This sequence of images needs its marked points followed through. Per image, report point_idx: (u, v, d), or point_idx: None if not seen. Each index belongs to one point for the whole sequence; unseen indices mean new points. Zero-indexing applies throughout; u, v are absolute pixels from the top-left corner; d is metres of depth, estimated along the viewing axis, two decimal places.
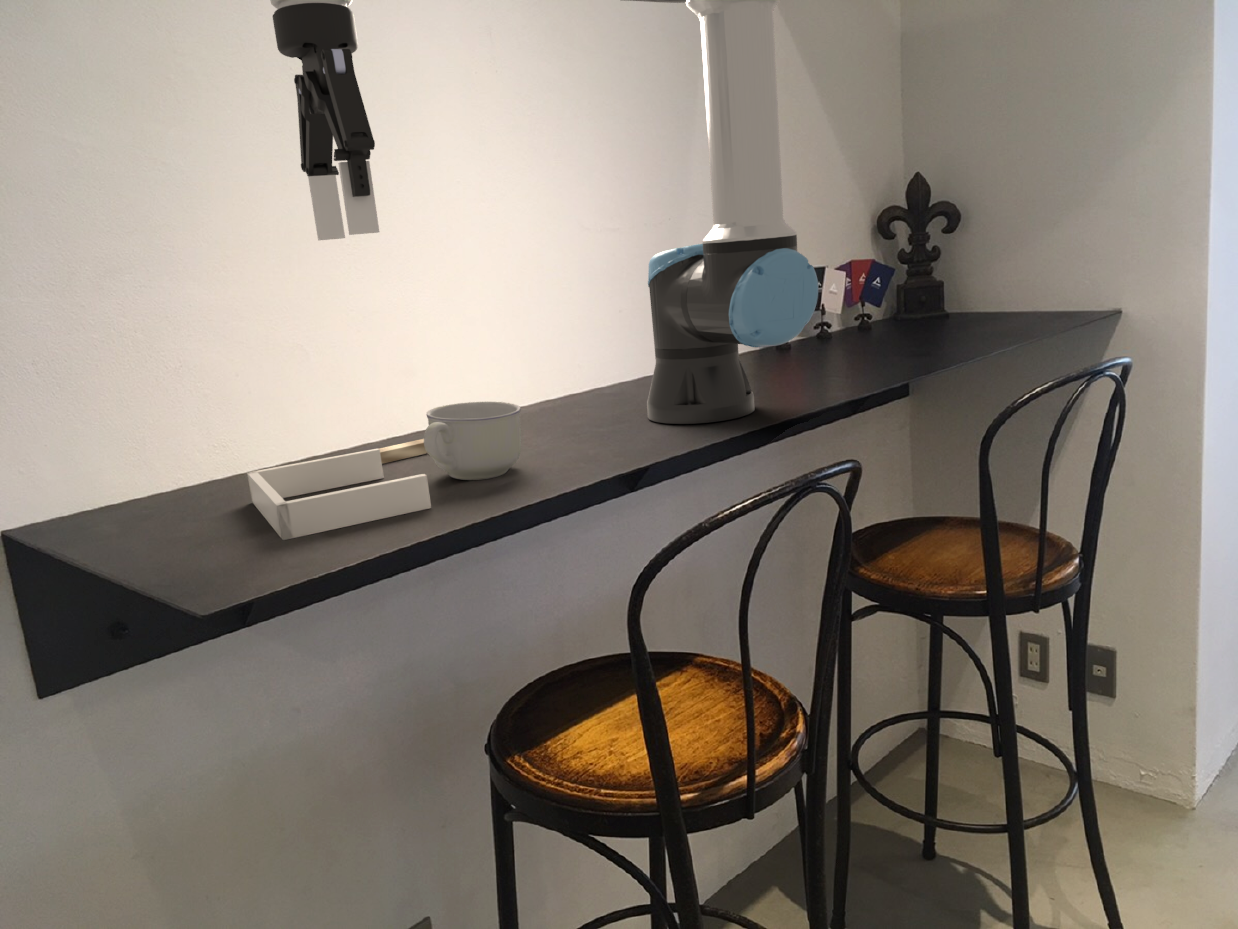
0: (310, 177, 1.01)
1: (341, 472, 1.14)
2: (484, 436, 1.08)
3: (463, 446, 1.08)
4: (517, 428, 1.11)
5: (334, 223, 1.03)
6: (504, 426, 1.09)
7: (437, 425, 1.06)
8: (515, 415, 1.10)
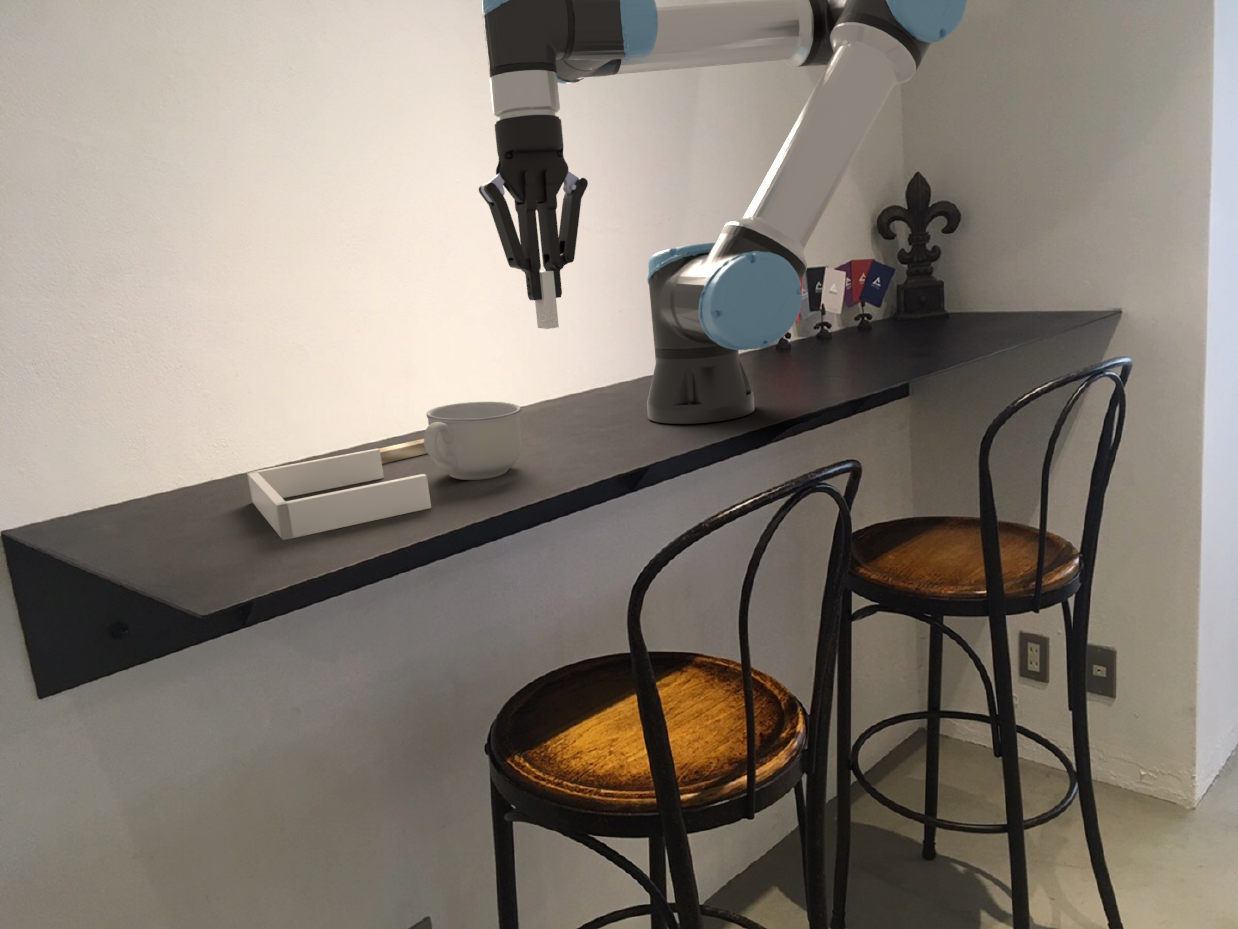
0: None
1: (341, 472, 1.14)
2: (484, 436, 1.08)
3: (463, 446, 1.08)
4: (517, 428, 1.11)
5: None
6: (504, 426, 1.09)
7: (437, 425, 1.06)
8: (515, 415, 1.10)
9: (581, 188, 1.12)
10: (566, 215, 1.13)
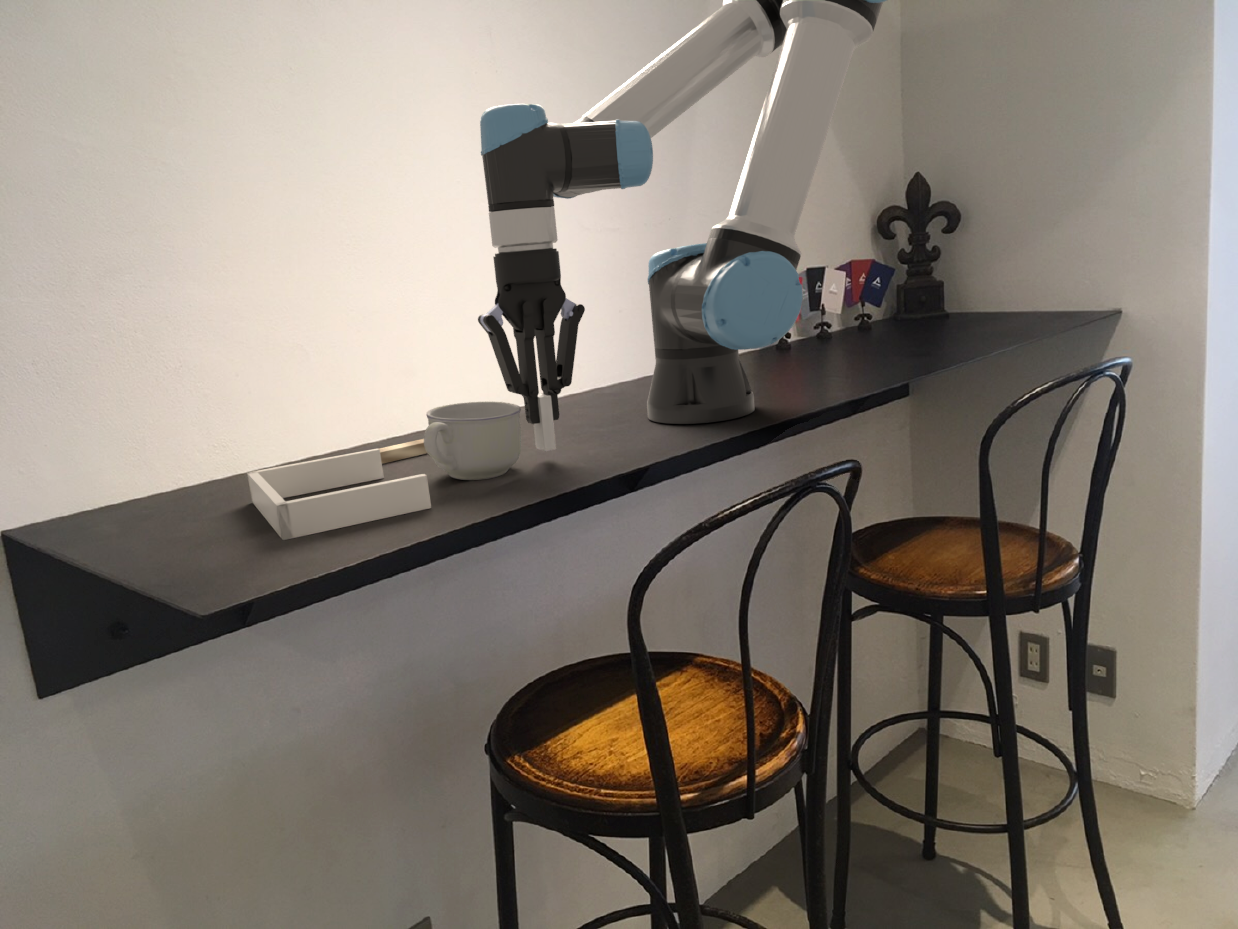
0: None
1: (341, 472, 1.14)
2: (484, 436, 1.08)
3: (463, 446, 1.08)
4: (517, 428, 1.11)
5: None
6: (504, 426, 1.09)
7: (437, 425, 1.06)
8: (515, 415, 1.10)
9: (578, 314, 1.15)
10: (563, 340, 1.15)
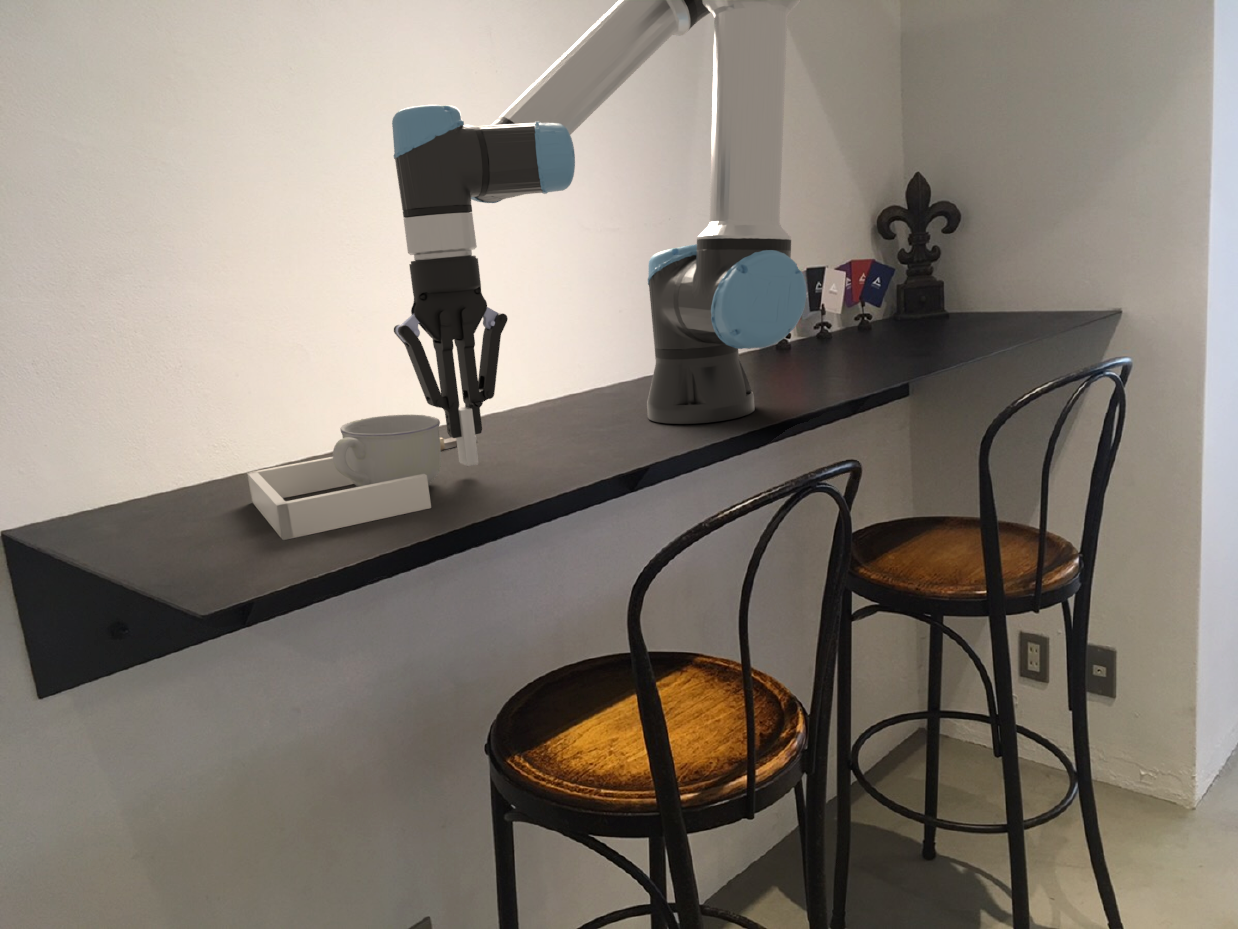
0: None
1: None
2: (398, 452, 1.03)
3: (376, 462, 1.03)
4: (435, 443, 1.07)
5: None
6: (420, 441, 1.04)
7: (346, 441, 1.01)
8: (431, 430, 1.06)
9: (500, 324, 1.10)
10: (485, 351, 1.11)
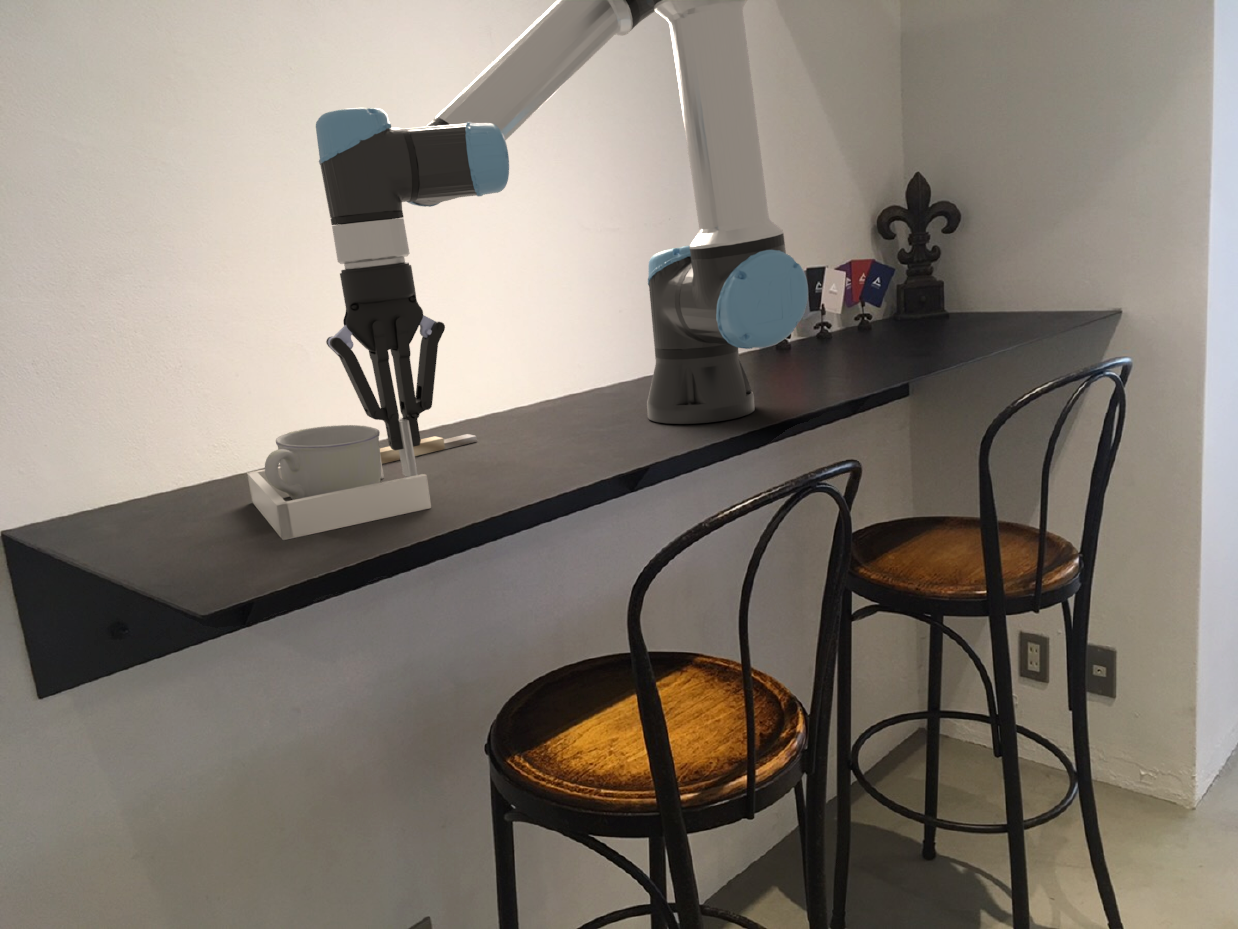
0: None
1: None
2: (333, 464, 1.00)
3: (310, 475, 1.00)
4: (373, 455, 1.04)
5: None
6: (356, 453, 1.01)
7: (279, 453, 0.98)
8: (369, 441, 1.03)
9: (437, 333, 1.07)
10: (422, 360, 1.08)
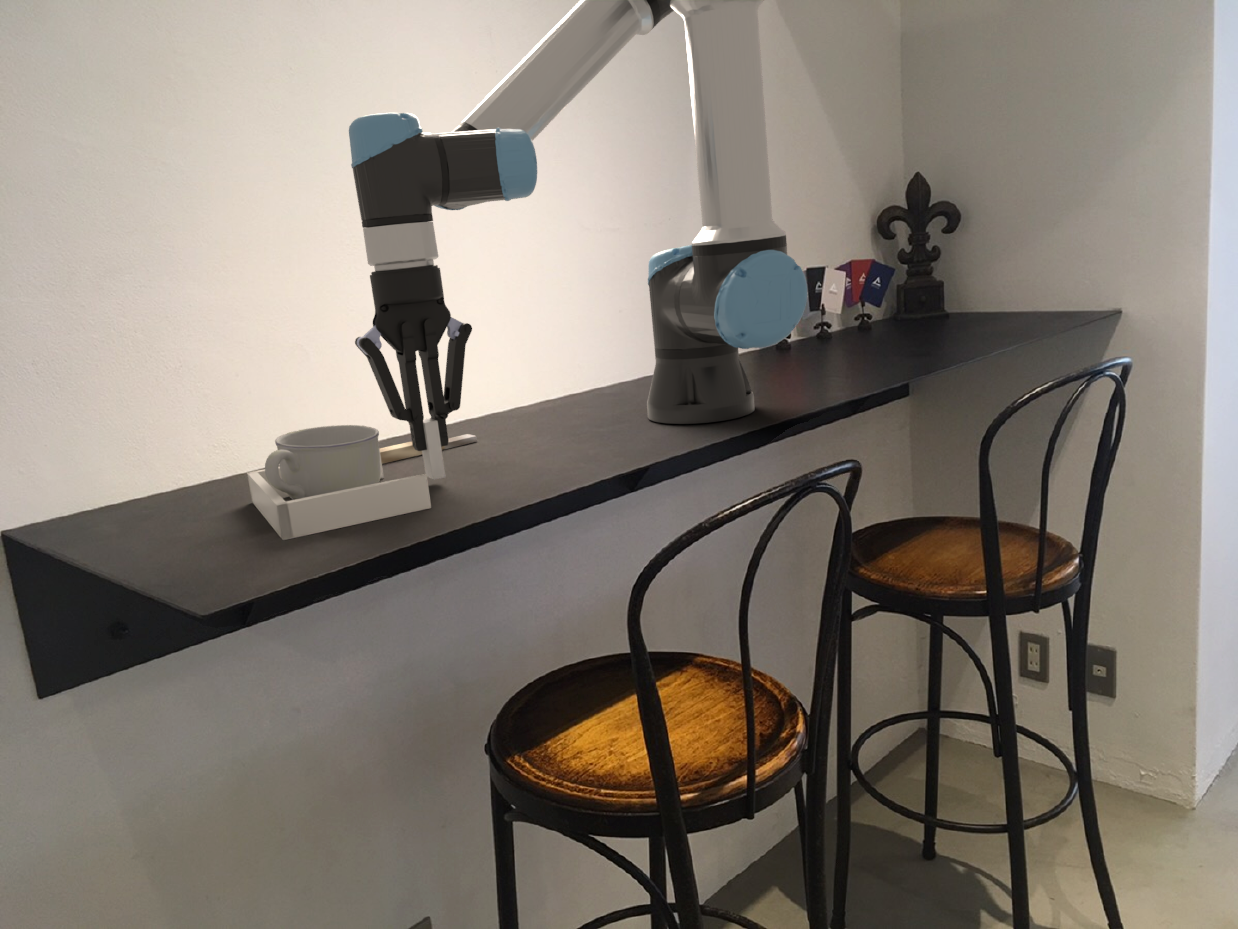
0: (424, 420, 1.10)
1: None
2: (333, 464, 1.00)
3: (310, 475, 1.00)
4: (373, 455, 1.04)
5: None
6: (356, 453, 1.02)
7: (279, 453, 0.98)
8: (369, 441, 1.03)
9: (465, 334, 1.08)
10: (450, 361, 1.09)
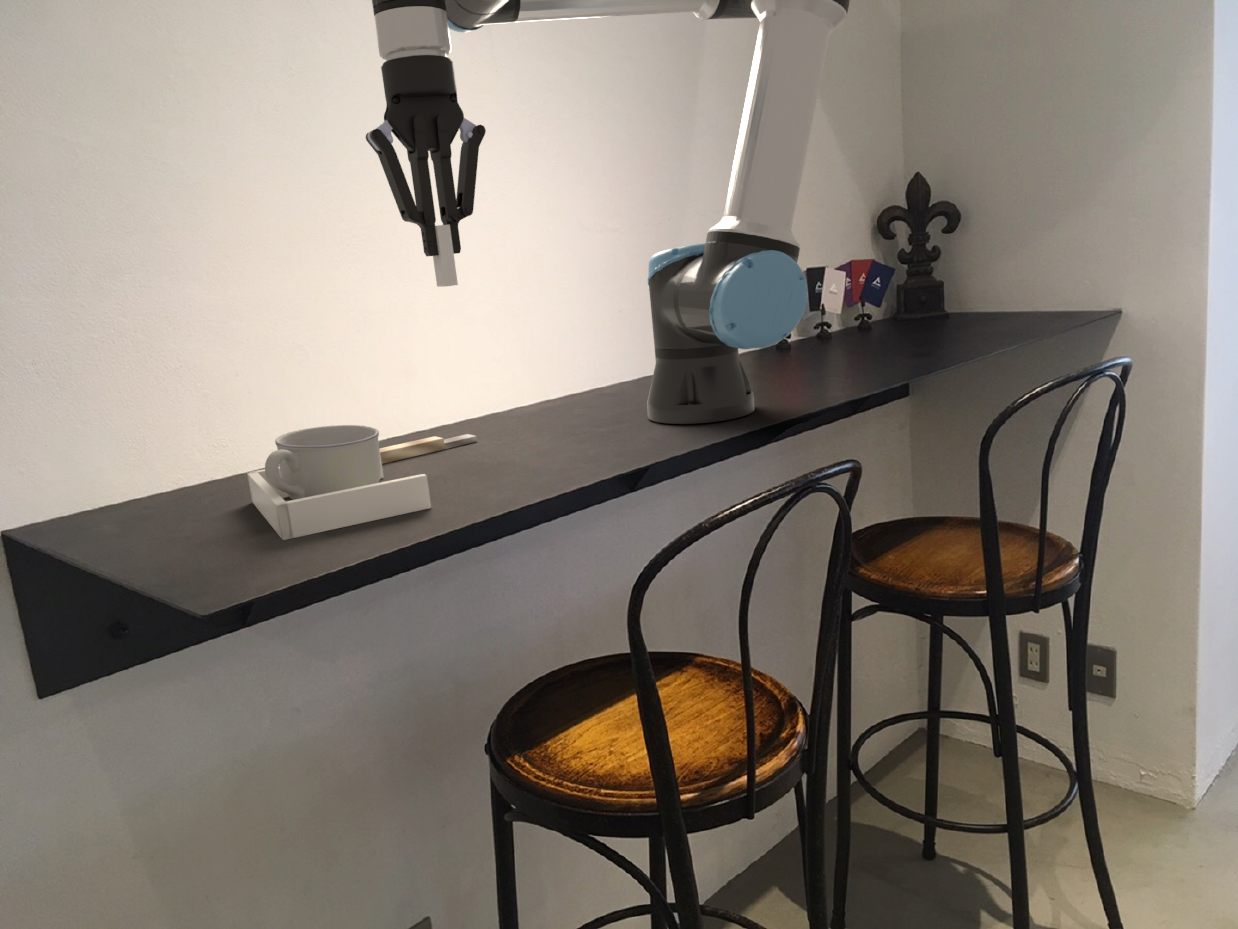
0: None
1: None
2: (333, 464, 1.00)
3: (310, 475, 1.00)
4: (373, 455, 1.04)
5: None
6: (356, 453, 1.02)
7: (279, 453, 0.98)
8: (369, 441, 1.03)
9: (478, 136, 1.05)
10: (463, 165, 1.06)
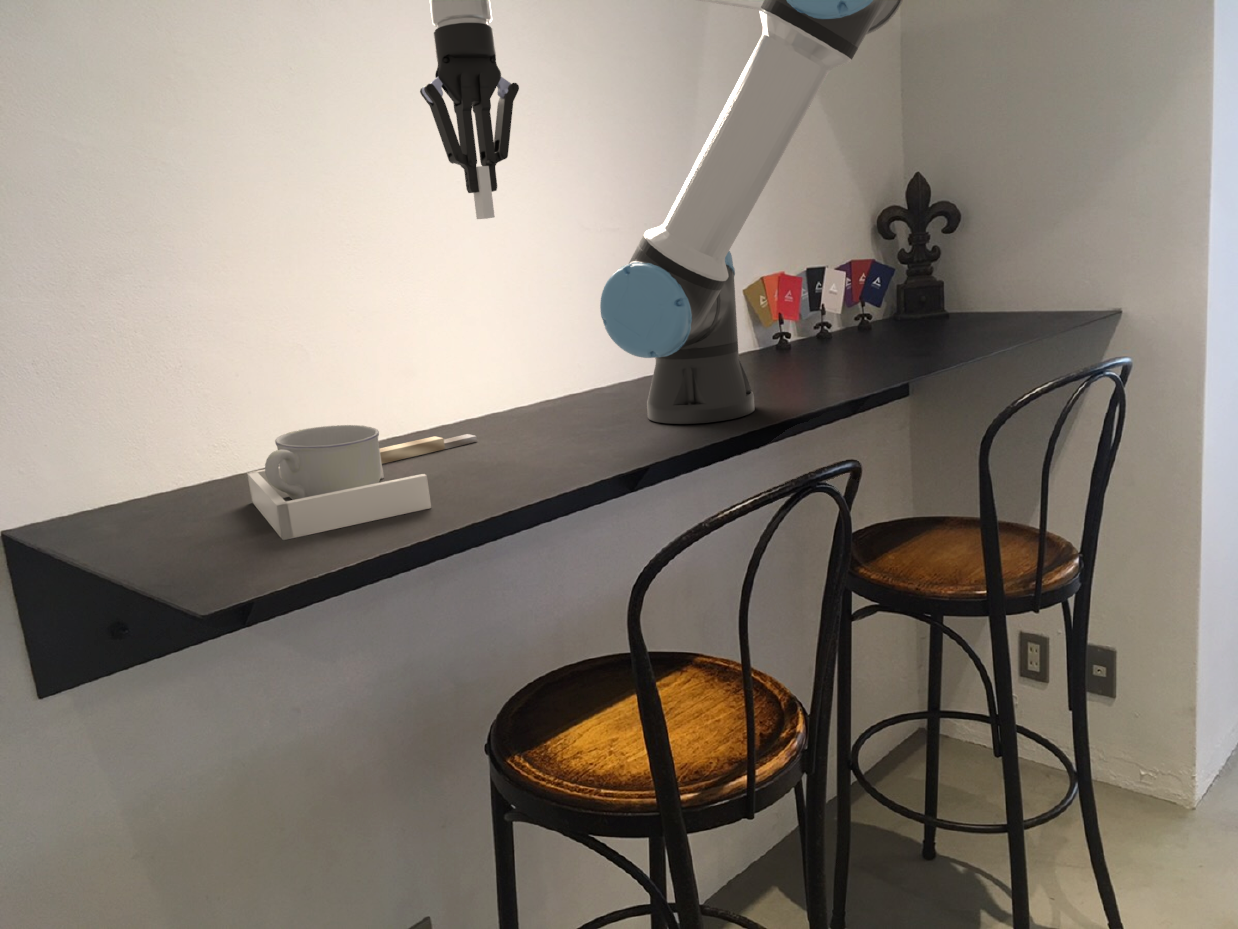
0: None
1: None
2: (333, 464, 1.00)
3: (310, 475, 1.00)
4: (373, 455, 1.04)
5: None
6: (356, 453, 1.02)
7: (279, 453, 0.98)
8: (369, 441, 1.03)
9: (513, 92, 1.26)
10: (500, 117, 1.27)
